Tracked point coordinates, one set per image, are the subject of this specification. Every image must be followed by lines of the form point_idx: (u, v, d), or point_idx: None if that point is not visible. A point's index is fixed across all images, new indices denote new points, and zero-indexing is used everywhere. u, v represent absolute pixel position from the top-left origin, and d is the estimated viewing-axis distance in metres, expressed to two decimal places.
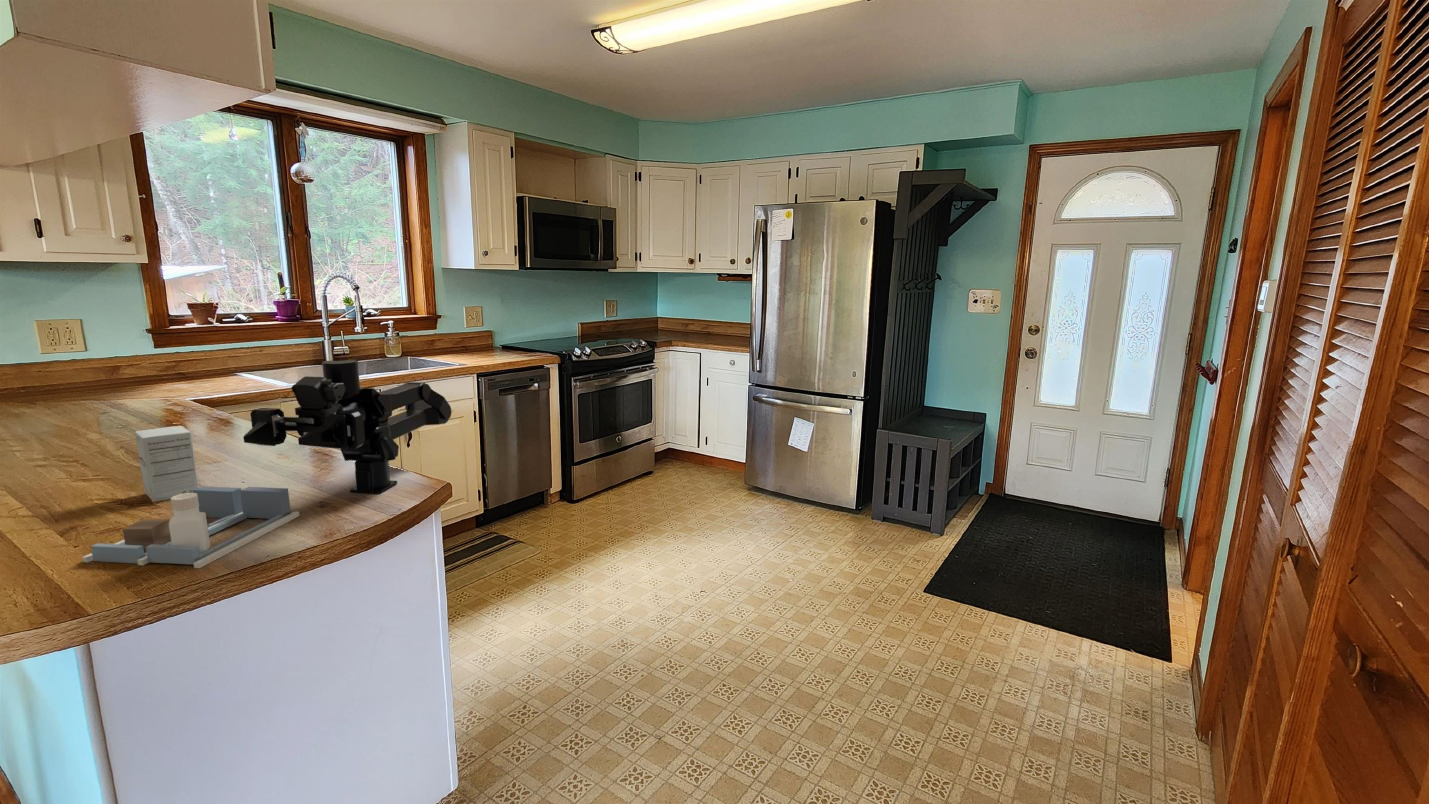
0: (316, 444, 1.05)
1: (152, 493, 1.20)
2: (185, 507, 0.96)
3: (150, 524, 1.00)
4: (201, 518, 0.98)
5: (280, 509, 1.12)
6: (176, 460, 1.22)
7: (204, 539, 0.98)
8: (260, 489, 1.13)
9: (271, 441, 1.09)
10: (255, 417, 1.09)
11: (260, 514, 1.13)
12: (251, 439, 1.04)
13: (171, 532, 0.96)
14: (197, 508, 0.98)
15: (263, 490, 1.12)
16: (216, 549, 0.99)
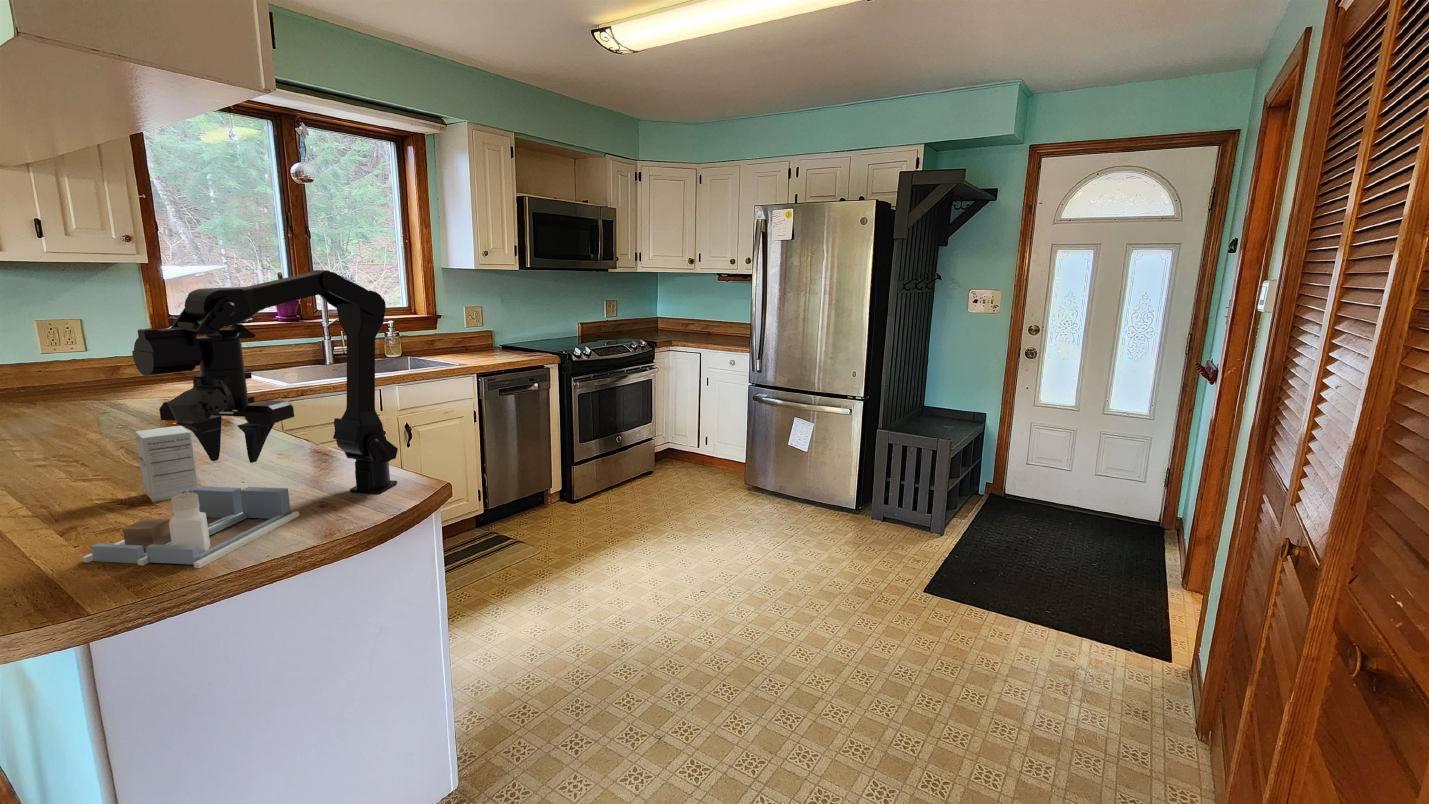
0: (262, 445, 1.07)
1: (152, 493, 1.20)
2: (185, 507, 0.96)
3: (150, 524, 1.00)
4: (201, 518, 0.98)
5: (280, 509, 1.12)
6: (176, 460, 1.22)
7: (204, 539, 0.98)
8: (260, 489, 1.13)
9: (218, 422, 1.07)
10: None
11: (260, 514, 1.13)
12: (216, 453, 1.07)
13: (171, 532, 0.96)
14: (197, 508, 0.98)
15: (263, 490, 1.12)
16: (216, 549, 0.99)
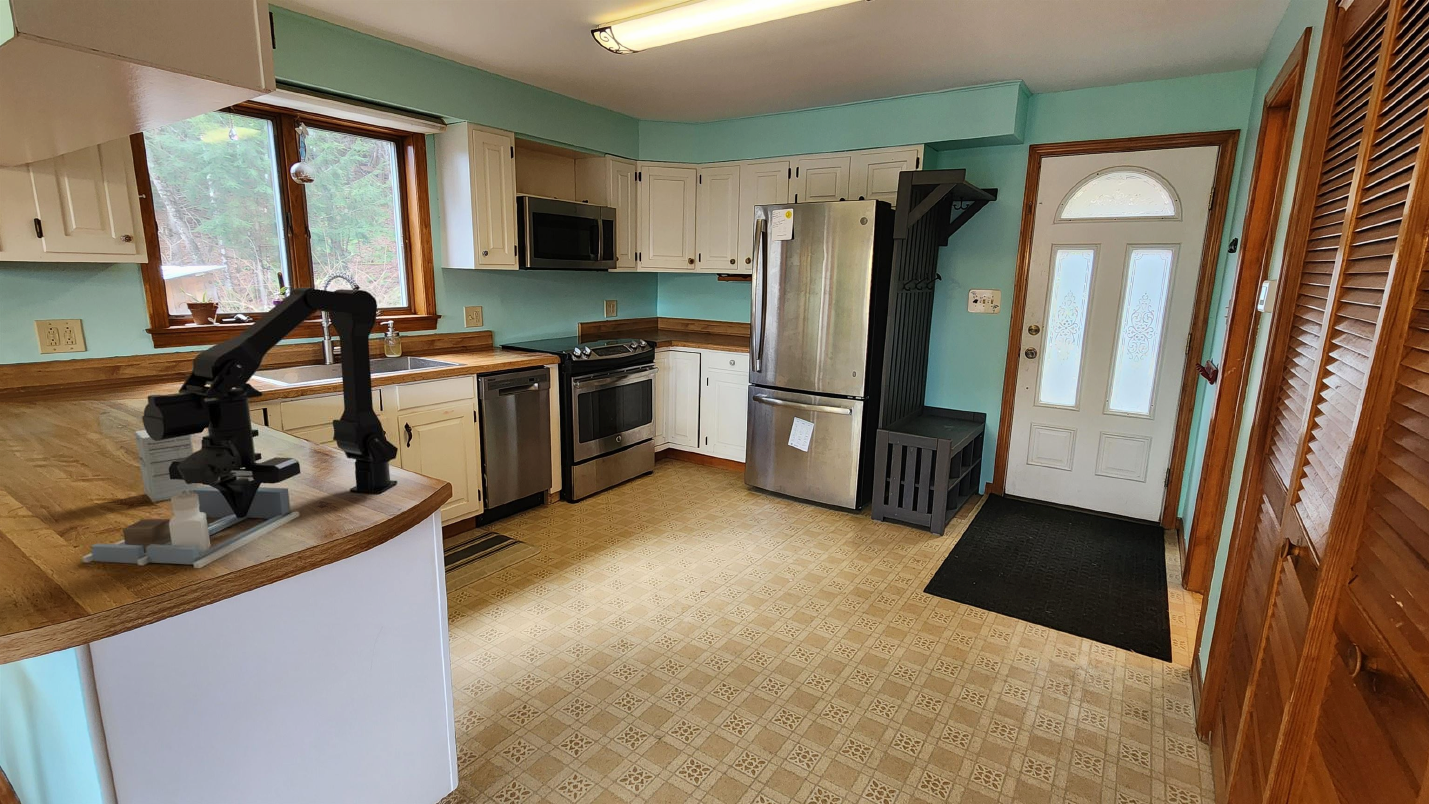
0: (251, 500, 1.09)
1: (152, 493, 1.20)
2: (185, 507, 0.96)
3: (150, 524, 1.00)
4: (201, 518, 0.98)
5: (280, 509, 1.12)
6: None
7: (204, 539, 0.98)
8: (260, 489, 1.13)
9: None
10: None
11: (260, 514, 1.13)
12: None
13: (171, 532, 0.96)
14: (197, 508, 0.98)
15: (263, 490, 1.12)
16: (216, 549, 0.99)
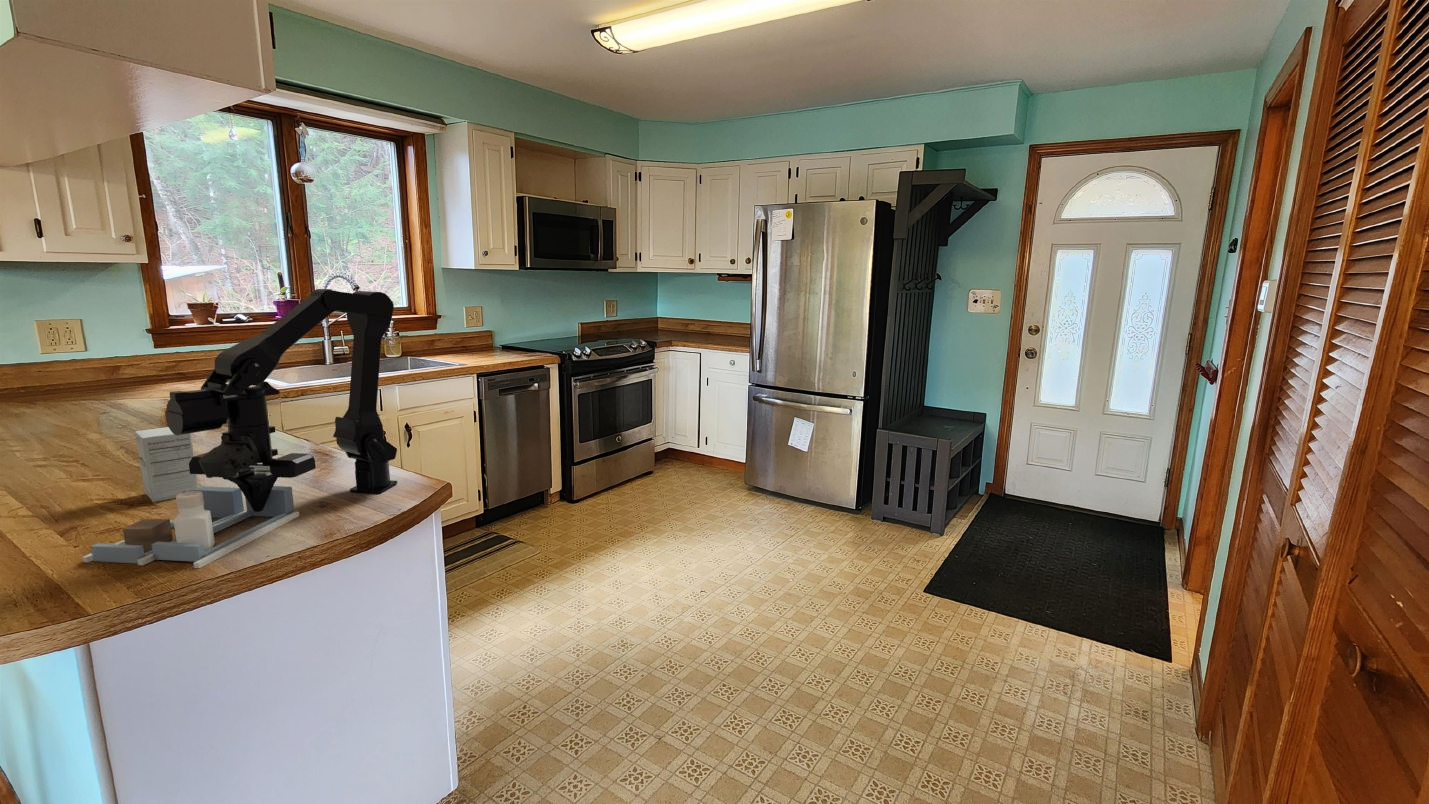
0: (268, 495, 1.12)
1: (152, 493, 1.20)
2: (190, 505, 0.97)
3: (150, 524, 1.00)
4: (206, 516, 0.98)
5: (283, 507, 1.13)
6: (176, 460, 1.22)
7: (208, 537, 0.99)
8: None
9: None
10: None
11: (264, 512, 1.14)
12: None
13: (176, 530, 0.96)
14: (202, 506, 0.99)
15: None
16: (221, 546, 1.00)
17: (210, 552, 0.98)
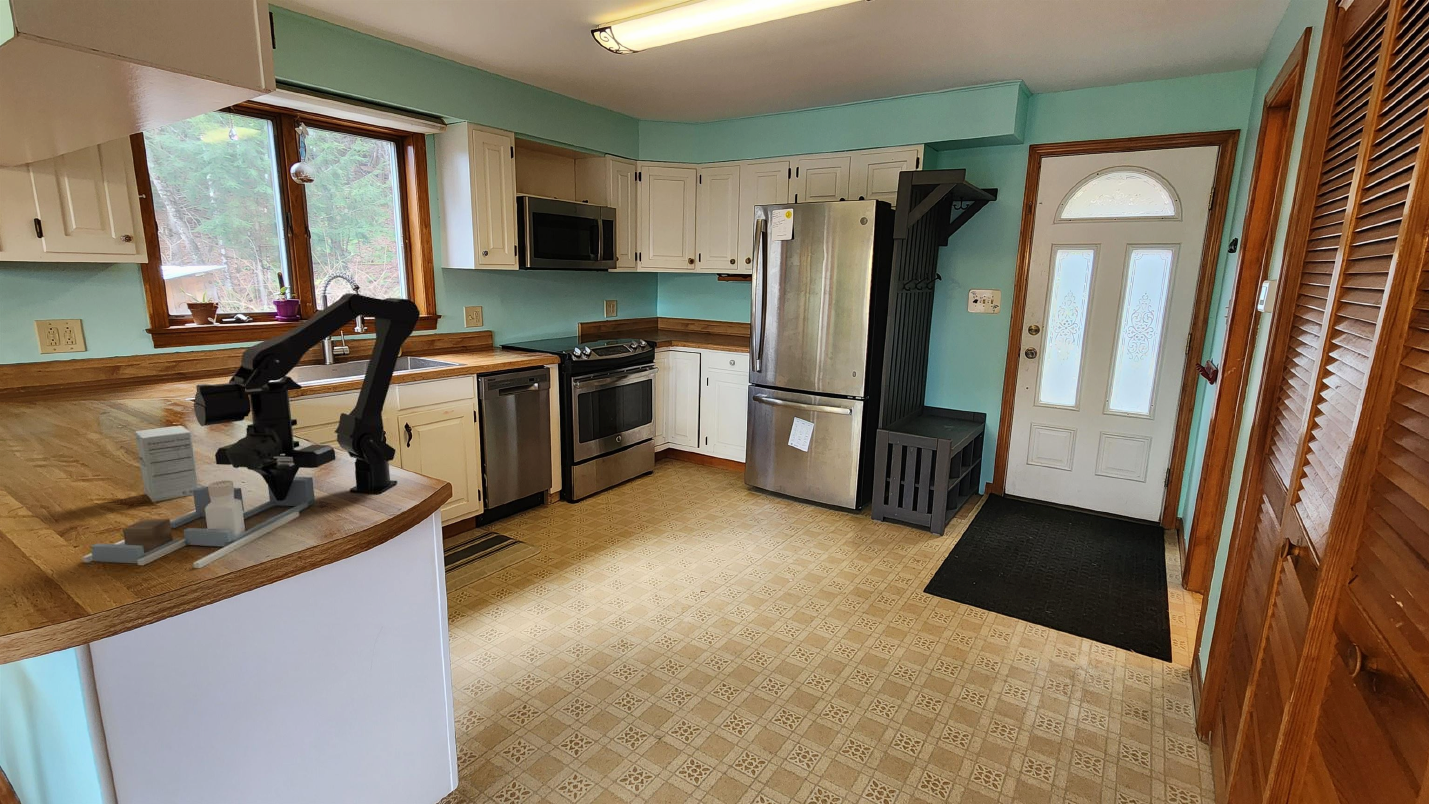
0: (290, 485, 1.18)
1: (152, 493, 1.20)
2: (219, 493, 1.02)
3: (150, 524, 1.00)
4: (233, 505, 1.03)
5: (305, 496, 1.19)
6: (176, 460, 1.22)
7: (235, 525, 1.03)
8: None
9: None
10: None
11: (286, 501, 1.19)
12: None
13: (206, 516, 1.02)
14: (231, 495, 1.03)
15: None
16: (248, 533, 1.05)
17: (238, 538, 1.03)
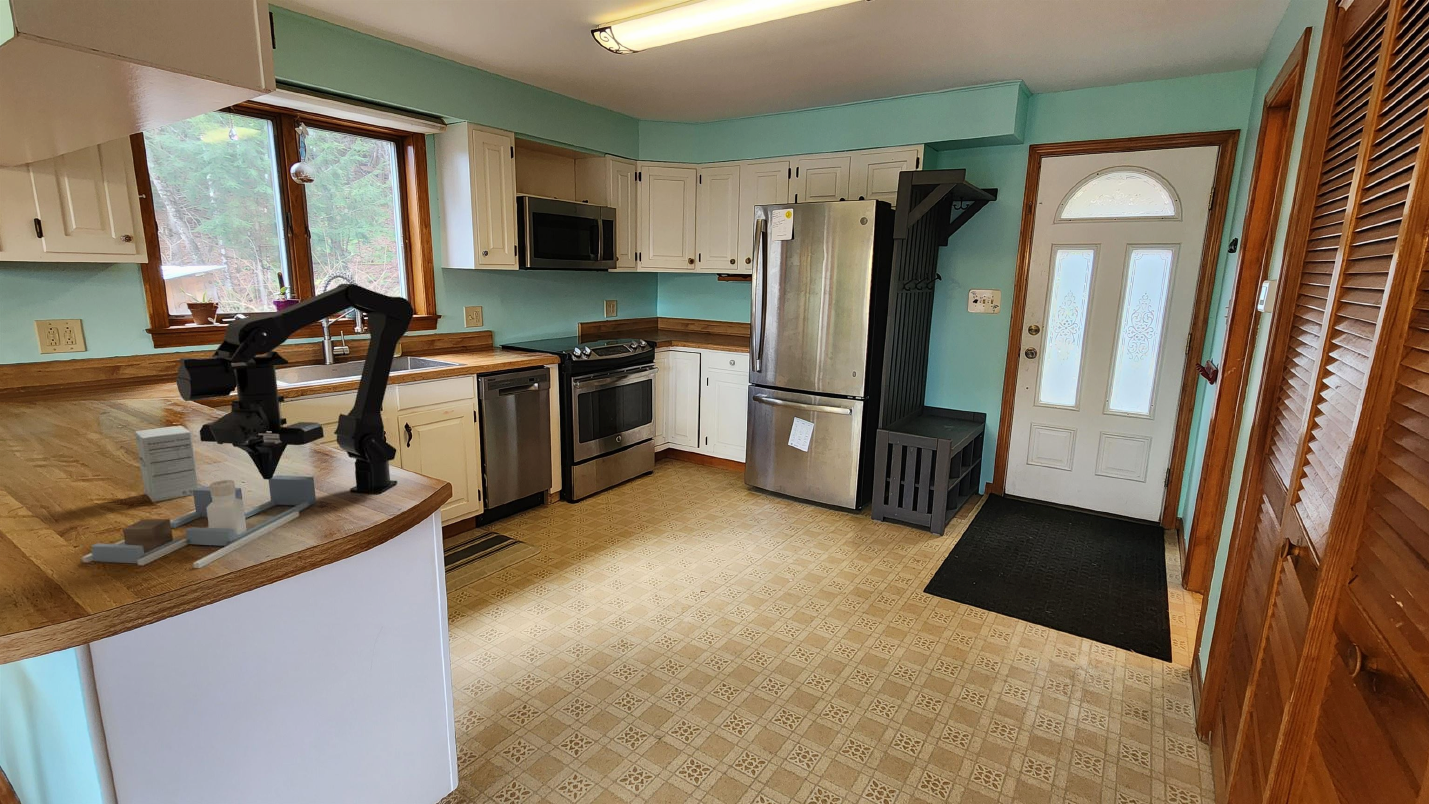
0: (277, 463, 1.15)
1: (152, 493, 1.20)
2: (220, 493, 1.02)
3: (150, 524, 1.00)
4: (235, 505, 1.03)
5: (306, 496, 1.19)
6: (176, 460, 1.22)
7: (237, 525, 1.04)
8: (287, 477, 1.19)
9: None
10: None
11: (287, 501, 1.19)
12: None
13: (208, 516, 1.02)
14: (233, 495, 1.04)
15: (290, 479, 1.19)
16: (249, 532, 1.05)
17: (240, 537, 1.03)
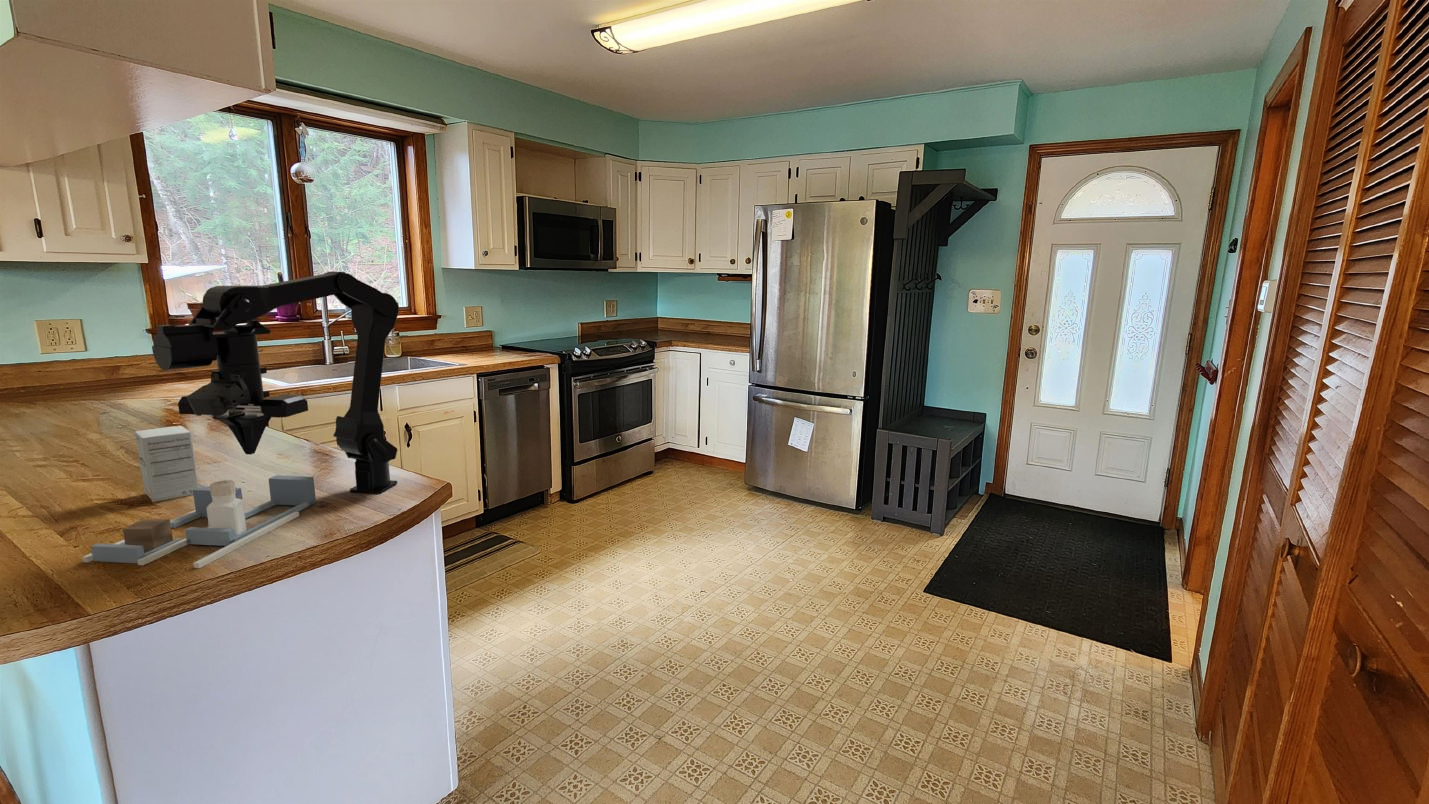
0: (259, 438, 1.10)
1: (152, 493, 1.20)
2: (220, 493, 1.02)
3: (150, 524, 1.00)
4: (235, 505, 1.03)
5: (306, 496, 1.19)
6: (176, 460, 1.22)
7: (237, 525, 1.04)
8: (287, 477, 1.19)
9: None
10: None
11: (287, 501, 1.19)
12: None
13: (208, 516, 1.02)
14: (233, 495, 1.04)
15: (290, 479, 1.19)
16: (249, 532, 1.05)
17: (240, 537, 1.03)
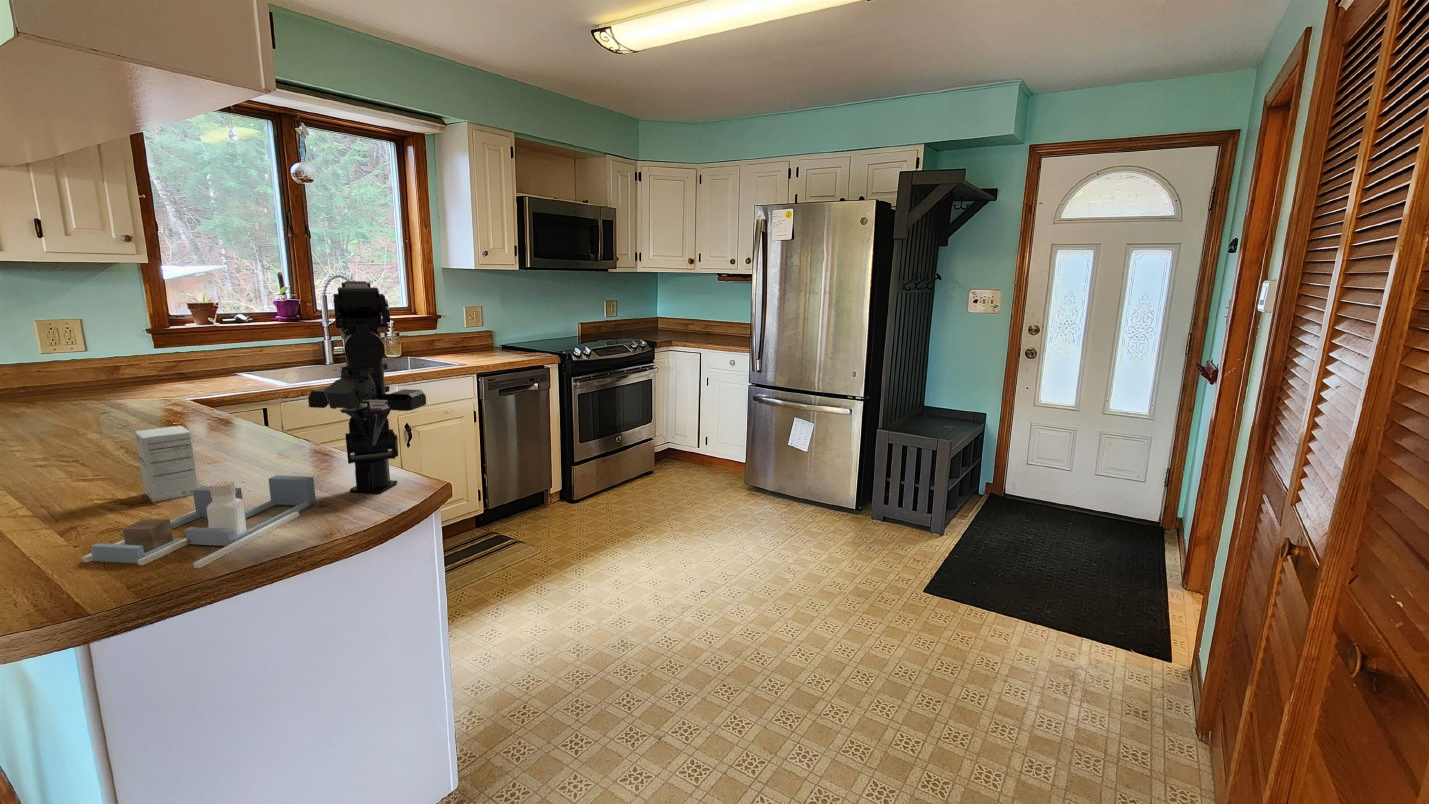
0: (380, 430, 1.16)
1: (152, 493, 1.20)
2: (220, 493, 1.02)
3: (150, 524, 1.00)
4: (235, 505, 1.03)
5: (306, 496, 1.19)
6: (176, 460, 1.22)
7: (237, 525, 1.04)
8: (287, 477, 1.19)
9: None
10: None
11: (287, 501, 1.19)
12: None
13: (208, 516, 1.02)
14: (233, 495, 1.04)
15: (290, 479, 1.19)
16: (249, 532, 1.05)
17: (240, 537, 1.03)
